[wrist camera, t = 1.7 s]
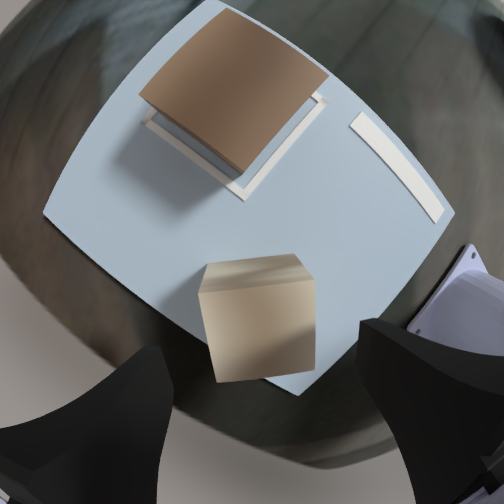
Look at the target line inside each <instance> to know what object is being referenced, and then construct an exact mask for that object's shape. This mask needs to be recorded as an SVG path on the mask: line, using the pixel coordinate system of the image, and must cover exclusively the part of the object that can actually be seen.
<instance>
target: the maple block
mask: <svg viewBox="0 0 504 504" xmlns="http://www.w3.org/2000/svg"><path fill="white" fill-rule="evenodd" d="M198 296H199V302H200V307H201V312H202V317H203V322H204V327H205V332H206V337H207V341H208V346H209V350H210V355H211V359H212V364H213V368H214V372H215V377H216V381H217V383H218V382H231V381H242V380H251V379H260V378H268V377H276V376H283V375H289V374H295V373H301V372H307V371H313V370H315V351H316V316H315V279H314V278H313V277H312V275H311V274H310V273H309V272H308V270H307V269H306V268H305V266H304V265H303V264H302V263H301V261H300V260H299V259H298V258H297V256H296V255H295V254H294V253H291V254H282V255H274V256H265V257H257V258H248V259H240V260H231V261H222V262H214V263H208V265H207V267H206V270H205V273H204V276H203V279H202V282H201V285H200V289H199V292H198Z"/></svg>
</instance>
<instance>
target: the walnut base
mask: <svg viewBox="0 0 504 504" xmlns="http://www.w3.org/2000/svg"><path fill="white" fill-rule="evenodd" d="M329 76H330V75H328V74H327V73H326V72H325V71H323V70H322V69H321V68H320V67H318V66H317V65H316V64H315V63H313V62H312V61H311V60H309V59H308V58H307V57H305V56H304V55H303V54H301V53H300V52H298V51H297V50H296V49H294V48H293V47H291V46H290V45H289V44H287V43H286V42H284V41H283V40H281V39H280V38H278V37H277V36H275V35H274V34H272V33H270V32H269V31H267V30H266V29H264V28H262V27H261V26H259V25H257V24H256V23H254V22H252V21H250V20H249V19H247V18H245V17H243V16H242V15H240V14H238V13H236V12H234V11H232V10H230V9H228V8H225V9H224V10H223V11H221V12H220V13H219V14H218V15H216V16H215V17H214V18H213V19H212V20H210V21H209V22H208V23H207V24H206V25H205V26H203V27H202V28H201V29H200V30H199V31H198V32H197V33H196V34H195V35H193V36H192V37H191V38H190V39H189V40H188V41H187V42H186V43H185V44H184V45H183V46H182V47H181V48H180V49H179V50H178V51H177V52H176V53H175V54H174V55H173V56H172V57H171V58H170V59H169V60H168V61H167V62H166V63H165V64H164V65H163V66H162V67H161V69H160V70H159V71H158V72H157V73H156V74H155V75H154V76H153V77H152V79H151V80H150V81H149V82H148V83H147V84H146V86H145V87H144V88H143V89H142V90H141V92H140V93H139V94H138V95H139V96H140V97H142V98H143V99H144V100H145V101H146V102H147V103H149V104H150V105H151V106H152V107H153V108H154V109H155V110H157V111H158V112H159V113H160V114H161V115H162V116H163V117H165V118H166V119H167V120H169V121H170V122H172V123H173V124H175V125H176V126H177V127H179V128H180V129H181V130H183V131H184V132H186V133H187V134H188V135H190V136H191V137H192V138H194V139H195V140H197V141H198V142H199V143H201V144H202V145H203V146H205V147H206V148H207V149H209V150H210V151H211V152H213V153H214V154H215V155H217V156H218V157H219V158H220V159H222V160H223V161H224V162H226V163H227V164H228V165H230V166H231V167H232V168H233V169H235V170H236V171H237V172H239V173H240V174H241V175H243V173H244V172H245V171H246V170H247V168H248V167H249V166H250V165H251V164H252V162H253V161H254V160H255V159H256V158H257V156H258V155H259V154H260V153H261V152H262V151H263V149H264V148H265V147H266V146H267V145H268V144H269V142H270V141H271V140H272V139H273V138H274V137H275V135H276V134H277V133H278V132H279V131H280V130H281V129H282V127H283V126H284V125H285V124H286V123H287V122H288V121H289V120H290V118H291V117H292V116H293V115H294V114H295V113H296V112H297V111H298V110H299V108H300V107H301V106H302V105H303V104H304V103H305V102H306V101H307V100H308V99H309V97H310V96H311V95H312V94H313V93H314V92H315V91H316V90H317V89H318V88H319V87H320V85H321V84H322V83H323V82H324V81H325V80H326V79H327V78H328V77H329Z"/></svg>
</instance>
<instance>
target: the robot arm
mask: <svg viewBox="0 0 504 504" xmlns="http://www.w3.org/2000/svg"><path fill="white" fill-rule="evenodd" d="M416 331H417V332H416ZM415 332H416V333H415ZM356 367H357V369H358V372H359V374H360V377H361V379H362V381H363V384H364V386H365V387H366V389H367V391H368V392H369V394H370V396H371V397H372V399H373V401H374V402H375V404H376V406H377V407H378V409H379V411H380V412H381V414H382V415H383V417H384V419H385V420H386V422H387V424H388V425H389V427H390V429H391V431H392V433H393V435H394V437H395V440H396V442H397V444H398V447H399V449H400V452H401V454H402V457H403V460H404V462H405V465H406V468H407V471H408V474H409V477H410V481H411V484H412V488H413V491H414V496H415V500H416V504H504V282H503V281H501V280H499V279H497V278H495V277H493V276H491V275H489V274H488V272H487V270H486V268H485V266H484V264H483V262H482V260H481V258H480V256H479V254H478V252H477V251H476V249H475V247H474V245H472V244H467V245H466V246H465V248H464V250H463V251H462V253H461V254H460V256H459V258H458V259H457V261H456V262H455V264H454V265H453V267H452V268H451V270H450V271H449V273H448V274H447V275H446V277H445V278H444V280H443V281H442V283H441V284H440V285H439V287H438V288H437V289H436V291H435V292H434V293H433V295H432V296H431V297H430V299H429V300H428V301H427V303H426V304H425V305H424V306H423V308H422V309H421V310H420V311H419V313H418V314H417V315H416V316H415V318H414V319H413V320H412V321H411V322H410V324H409V325H408V327H407V331H406V330H404V329H402V328H400V327H397V326H395V325H393V324H390V323H388V322H385V321H383V320H380V319H377V318H370V319H365V320H361V321H360V323H359V336H358V346H357V356H356ZM173 395H174V386H173V383H172V380H171V378H170V375H169V372H168V369H167V366H166V363H165V360H164V356H163V353H162V350H161V347H160V346H145V347H143V348H142V349H140V350H139V351H138V352H137V353H135V354H134V355H133V356H132V357H131V358H129V359H128V360H127V361H126V362H125V363H123V364H122V365H121V366H120V367H119V368H117V369H116V370H115V371H114V372H113V373H111V374H110V375H109V376H108V377H106V378H105V379H104V380H103V381H101V382H100V383H98V384H97V385H96V386H94V387H93V388H92V389H90V390H89V391H88V392H86V393H85V394H83V395H82V396H80V397H79V398H77V399H75V400H74V401H72V402H70V403H68V404H67V405H65V406H63V407H61V408H59V409H57V410H55V411H53V412H50V413H48V414H46V415H44V416H42V417H39V418H36V419H34V420H31V421H28V422H25V423H21V424H18V425H14V426H11V427H5V428H0V488H1V489H2V490H3V491H4V492H5V493H6V494H7V495H9V496H10V498H9V501H8V502H7V501H6V500H5V499H3V498H2V497H0V504H156V502H157V499H156V498H157V482H158V470H159V463H160V457H161V453H162V449H163V445H164V441H165V436H166V433H167V428H168V424H169V420H170V416H171V412H172V405H173Z"/></svg>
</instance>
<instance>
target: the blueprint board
mask: <svg viewBox="0 0 504 504" xmlns="http://www.w3.org/2000/svg"><path fill="white" fill-rule="evenodd" d="M225 8H228V9H230V10H232V11H234V12H236V13H238V14H240V15H242V16H243V17H245V18H247V19H249V20H250V21H252V22H254V23H256V24H257V25H259V26H261V27H262V28H264V29H266V30H267V31H269V32H270V33H272V34H274V35H275V36H277V37H278V38H280V39H281V40H283V41H284V42H286V43H287V44H289V45H290V46H291V47H293V48H294V49H296V50H297V51H298V52H300V53H301V54H303V55H304V56H305V57H307V58H308V59H309V60H311V61H312V62H313V63H315V64H316V65H317V66H318V67H320V68H321V69H322V70H323V71H325V72H326V73H327V74H328V75H330V76H329V77H328V78H327V79H326V80H325V81H324V82H323V83H322V84H321V85H320V87H319V88H318V89H317V90H316V91H315V92H314V93H313V94H312V95H311V96H310V97H309V99H308V100H307V101H306V102H305V103H304V104H303V105H302V106H301V107H300V108H299V110H298V111H297V112H296V113H295V114H294V115H293V116H292V117H291V118H290V120H289V121H288V122H287V123H286V124H285V125H284V126H283V127H282V129H281V130H280V131H279V132H278V133H277V134H276V135H275V137H274V138H273V139H272V140H271V141H270V142H269V144H268V145H267V146H266V147H265V148H264V149H263V151H262V152H261V153H260V154H259V155H258V156H257V158H256V159H255V160H254V161H253V162H252V164H251V165H250V166H249V167H248V168H247V170H246V171H245V172H244V173H243V175H241V174H240V173H239V172H237V171H236V170H235V169H233V168H232V167H231V166H230V165H228V164H227V163H226V162H224V161H223V160H222V159H220V158H219V157H218V156H217V155H215V154H214V153H213V152H211V151H210V150H209V149H207V148H206V147H205V146H203V145H202V144H201V143H199V142H198V141H197V140H195V139H194V138H192V137H191V136H190V135H188V134H187V133H186V132H184V131H183V130H181V129H180V128H179V127H177V126H176V125H175V124H173V123H172V122H170V121H169V120H167V119H166V118H165V117H163V116H162V115H161V114H160V113H159V112H158V111H157V110H155V109H154V108H153V107H152V106H151V105H150V104H149V103H147V102H146V101H145V100H144V99H143V98H142V97H140V96H139V95H138V94H139V93H140V92H141V90H142V89H143V88H144V87H145V86H146V84H147V83H148V82H149V81H150V80H151V79H152V77H153V76H154V75H155V74H156V73H157V72H158V71H159V70H160V69H161V67H162V66H163V65H164V64H165V63H166V62H167V61H168V60H169V59H170V58H171V57H172V56H173V55H174V54H175V53H176V52H177V51H178V50H179V49H180V48H181V47H182V46H183V45H184V44H185V43H186V42H187V41H188V40H189V39H190V38H191V37H192V36H193V35H195V34H196V33H197V32H198V31H199V30H200V29H201V28H202V27H203V26H205V25H206V24H207V23H208V22H209V21H210V20H212V19H213V18H214V17H215V16H216V15H218V14H219V13H220V12H221V11H223V10H224V9H225ZM43 214H44V215H45V216H46V217H47V218H48V219H49V220H50V221H51V222H52V223H53V224H54V225H55V226H56V227H57V228H59V229H60V230H61V231H62V232H63V233H64V234H65V235H66V236H67V237H68V238H69V239H70V240H71V241H72V242H74V243H75V244H76V245H77V246H78V247H79V248H80V249H81V250H82V251H84V252H85V253H86V254H87V255H88V256H89V257H90V258H92V259H93V260H94V261H95V262H96V263H97V264H99V265H100V266H101V267H102V268H103V269H105V270H106V271H107V272H108V273H109V274H111V275H112V276H113V277H114V278H116V279H117V280H118V281H119V282H121V283H122V284H123V285H124V286H126V287H127V288H128V289H129V290H131V291H132V292H133V293H135V294H136V295H137V296H139V297H140V298H141V299H143V300H144V301H145V302H147V303H148V304H149V305H151V306H152V307H153V308H155V309H156V310H157V311H159V312H160V313H162V314H163V315H164V316H166V317H167V318H169V319H170V320H171V321H173V322H174V323H176V324H177V325H179V326H180V327H182V328H183V329H185V330H186V331H188V332H189V333H191V334H192V335H194V336H195V337H197V338H198V339H200V340H201V341H203V342H204V343H206V344H207V345H208V341H207V337H206V332H205V327H204V322H203V317H202V312H201V307H200V302H199V296H198V292H199V289H200V285H201V282H202V279H203V276H204V273H205V270H206V267H207V265H208V263H214V262H222V261H231V260H240V259H248V258H257V257H265V256H274V255H282V254H291V253H294V254H295V255H296V256H297V258H298V259H299V260H300V261H301V263H302V264H303V265H304V266H305V268H306V269H307V270H308V272H309V273H310V274H311V275H312V277H313V278H314V279H315V316H316V351H315V370H313V371H307V372H301V373H295V374H289V375H283V376H276V377H268V378H265V379H266V380H268V381H270V382H272V383H274V384H276V385H278V386H279V387H281V388H283V389H285V390H287V391H289V392H291V393H293V394H295V395H297V396H299V395H300V394H301V393H302V392H304V391H305V390H306V389H307V388H308V387H309V386H310V385H312V384H313V383H314V382H315V381H316V380H317V379H318V378H319V377H320V376H321V375H323V374H324V373H325V372H326V371H327V370H328V369H329V368H330V367H331V366H332V365H333V364H334V363H335V362H336V361H337V360H338V359H339V358H340V357H341V356H342V355H343V354H344V353H345V352H346V351H347V350H348V349H349V348H350V347H351V346H352V345H353V344H354V343H355V342H356V341H357V340H358V336H359V323H360V321H361V320H365V319H370V318H378V317H379V316H380V315H381V314H382V312H383V311H384V310H385V309H386V308H387V307H388V305H389V304H390V303H391V302H392V301H393V299H394V298H395V297H396V296H397V295H398V293H399V292H400V291H401V290H402V288H403V287H404V286H405V285H406V283H407V282H408V281H409V279H410V278H411V277H412V275H413V274H414V273H415V272H416V270H417V269H418V267H419V266H420V265H421V263H422V262H423V261H424V259H425V258H426V256H427V255H428V254H429V252H430V251H431V249H432V248H433V246H434V245H435V244H436V242H437V241H438V239H439V238H440V236H441V235H442V233H443V231H444V230H445V228H446V227H447V225H448V224H449V222H450V220H451V219H452V217H453V216H454V214H455V212H454V211H453V209H452V208H451V206H450V205H449V203H448V202H447V200H446V199H445V197H444V196H443V194H442V193H441V191H440V190H439V188H438V187H437V186H436V184H435V183H434V182H433V180H432V179H431V177H430V176H429V175H428V173H427V172H426V171H425V170H424V168H423V167H422V166H421V164H420V163H419V162H418V161H417V159H416V158H415V157H414V156H413V155H412V153H411V152H410V151H409V150H408V149H407V147H406V146H405V145H404V144H403V143H402V142H401V140H400V139H399V138H398V137H397V136H396V135H395V134H394V133H393V131H392V130H391V129H390V128H389V127H388V126H387V125H386V124H385V123H384V122H383V121H382V120H381V119H380V118H379V117H378V116H377V115H376V114H375V113H374V112H373V111H372V110H371V109H370V108H369V107H368V106H367V105H366V104H365V103H364V102H363V101H362V100H361V99H360V98H359V97H358V96H357V95H356V94H355V93H354V92H352V91H351V90H350V89H349V88H348V87H347V86H346V85H345V84H344V83H342V82H341V81H340V80H339V79H338V78H337V77H335V76H334V75H333V74H332V73H331V72H329V71H328V70H327V69H326V68H324V67H323V66H322V65H321V64H319V63H318V62H317V61H315V60H314V59H313V58H312V57H310V56H309V55H308V54H306V53H305V52H303V51H302V50H301V49H299V48H298V47H297V46H295V45H294V44H292V43H291V42H289V41H288V40H286V39H285V38H283V37H282V36H280V35H279V34H277V33H276V32H274V31H273V30H271V29H269V28H268V27H266V26H265V25H263V24H261V23H260V22H258V21H256V20H254V19H253V18H251V17H249V16H247V15H246V14H244V13H242V12H240V11H238V10H236V9H234V8H232V7H230V6H229V5H227V4H225V3H222V2H220V1H218V0H206V1H204V2H203V3H202V4H200V5H199V6H198V7H197V8H195V9H194V10H193V11H192V12H191V13H189V14H188V15H187V16H186V17H185V18H184V19H183V20H181V21H180V22H179V23H178V24H177V25H176V26H175V27H174V28H173V29H171V30H170V31H169V32H168V33H167V34H166V35H165V36H164V37H163V38H162V39H161V40H160V41H159V42H158V43H157V44H156V45H155V46H154V47H153V48H152V49H151V50H150V51H149V52H148V53H147V54H146V55H145V57H144V58H143V59H142V60H141V61H140V62H139V63H138V64H137V65H136V66H135V68H134V69H133V70H132V71H131V72H130V73H129V75H128V76H127V77H126V78H125V79H124V81H123V82H122V83H121V84H120V85H119V87H118V88H117V89H116V91H115V92H114V93H113V94H112V96H111V97H110V98H109V100H108V101H107V102H106V104H105V105H104V106H103V108H102V109H101V111H100V112H99V113H98V115H97V116H96V118H95V119H94V121H93V122H92V124H91V125H90V127H89V128H88V130H87V131H86V133H85V134H84V136H83V137H82V139H81V141H80V142H79V144H78V146H77V147H76V149H75V151H74V152H73V154H72V156H71V157H70V159H69V161H68V163H67V165H66V166H65V168H64V170H63V172H62V174H61V176H60V178H59V180H58V181H57V183H56V185H55V187H54V189H53V192H52V194H51V196H50V198H49V200H48V202H47V204H46V207H45V209H44V211H43Z"/></svg>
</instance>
